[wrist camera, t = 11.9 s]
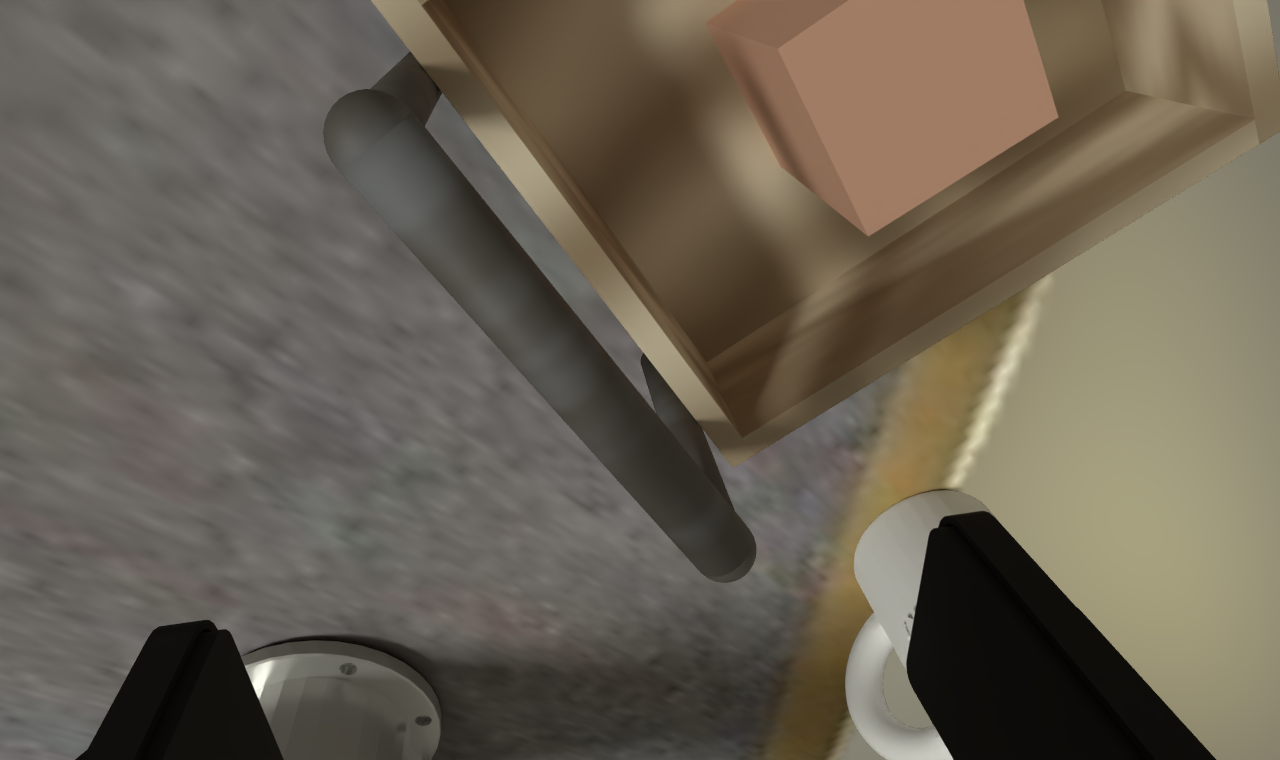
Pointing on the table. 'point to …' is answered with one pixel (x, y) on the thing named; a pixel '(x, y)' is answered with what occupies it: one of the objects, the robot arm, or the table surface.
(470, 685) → the table surface
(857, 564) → the mug
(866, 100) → the block
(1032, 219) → the cart
